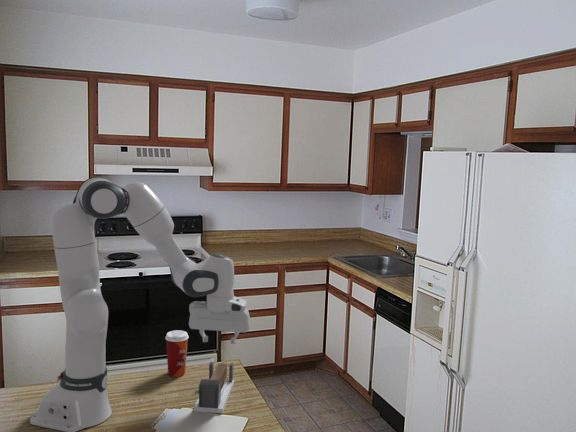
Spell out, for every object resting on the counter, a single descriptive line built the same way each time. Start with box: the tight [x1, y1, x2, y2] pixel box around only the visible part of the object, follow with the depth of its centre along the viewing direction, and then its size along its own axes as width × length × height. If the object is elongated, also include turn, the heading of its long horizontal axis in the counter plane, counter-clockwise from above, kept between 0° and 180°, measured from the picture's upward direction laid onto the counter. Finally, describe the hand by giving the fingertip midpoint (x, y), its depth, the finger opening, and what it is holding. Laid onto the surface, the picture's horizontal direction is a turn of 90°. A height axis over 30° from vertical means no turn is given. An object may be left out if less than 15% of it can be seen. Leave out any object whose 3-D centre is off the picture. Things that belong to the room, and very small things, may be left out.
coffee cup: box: [165, 329, 190, 378], centre depth 178 cm, size 8×8×15 cm
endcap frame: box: [193, 361, 235, 414], centre depth 162 cm, size 9×20×9 cm, turn 176°
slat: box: [210, 362, 228, 389], centre depth 167 cm, size 3×14×5 cm, turn 176°
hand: (219, 342), depth 165 cm, fingers open, 8 cm apart
